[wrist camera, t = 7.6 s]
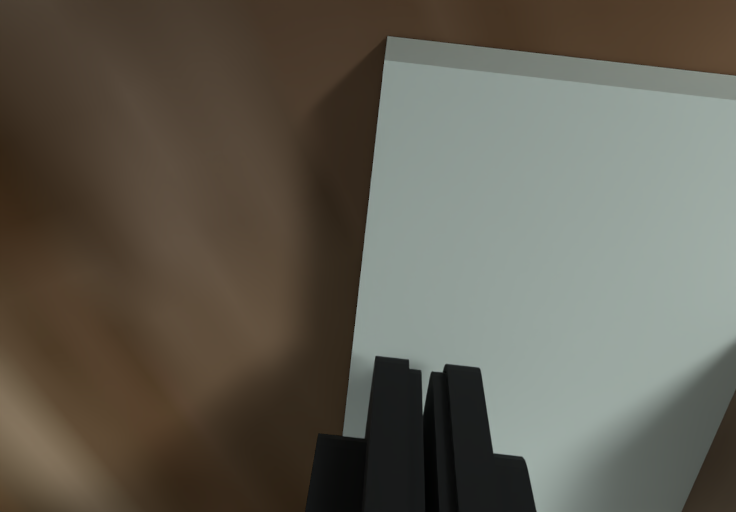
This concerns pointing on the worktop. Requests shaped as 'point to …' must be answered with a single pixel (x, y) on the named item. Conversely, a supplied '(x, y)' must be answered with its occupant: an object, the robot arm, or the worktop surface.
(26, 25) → the worktop surface
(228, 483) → the worktop surface
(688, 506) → the block
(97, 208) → the worktop surface
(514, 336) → the board
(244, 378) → the worktop surface
